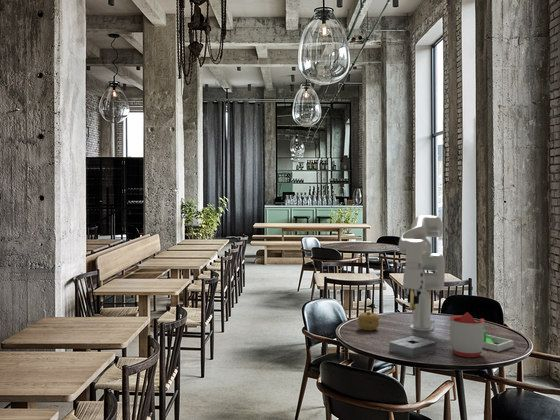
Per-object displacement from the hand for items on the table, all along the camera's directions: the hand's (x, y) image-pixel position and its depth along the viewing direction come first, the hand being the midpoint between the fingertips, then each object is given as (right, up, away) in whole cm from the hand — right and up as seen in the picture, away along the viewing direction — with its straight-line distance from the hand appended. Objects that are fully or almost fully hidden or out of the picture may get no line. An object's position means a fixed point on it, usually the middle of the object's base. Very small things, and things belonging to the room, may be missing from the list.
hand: (413, 302), depth 270 cm
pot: (-16, -21, +36) cm, 45 cm away
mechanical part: (+39, -23, +8) cm, 45 cm away
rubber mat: (+4, -22, +16) cm, 27 cm away
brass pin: (0, -3, 0) cm, 3 cm away
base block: (-1, -22, -5) cm, 23 cm away
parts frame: (+39, -22, +7) cm, 45 cm away
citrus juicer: (+24, -23, -9) cm, 34 cm away
